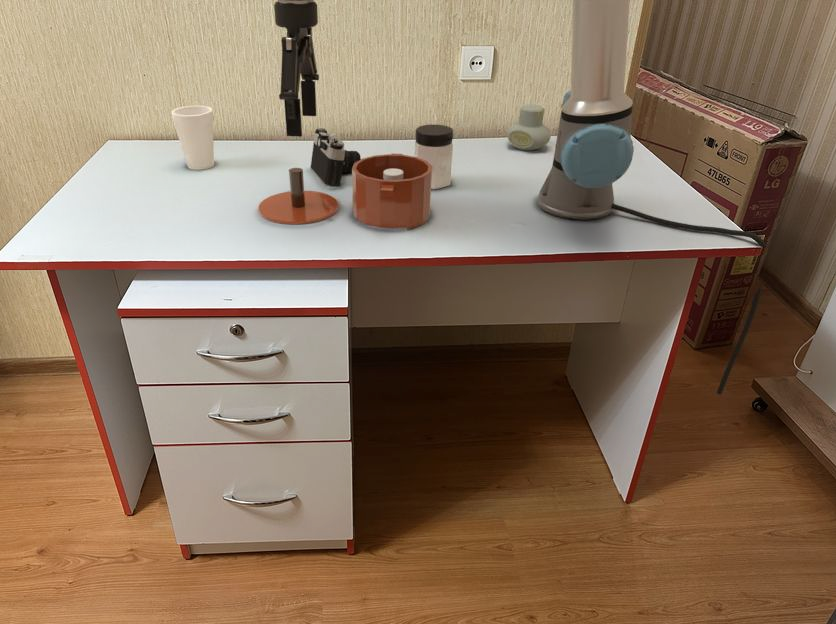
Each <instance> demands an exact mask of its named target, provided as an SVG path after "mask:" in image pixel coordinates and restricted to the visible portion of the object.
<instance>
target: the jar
mask: <svg viewBox="0 0 836 624" xmlns="http://www.w3.org/2000/svg"><path fill="white" fill-rule="evenodd" d="M453 139H454V129H453V128H452V127H450V126H448V125H443V124H423V125H419V126H417V128H416V129H415V139H414V157H418V158H420V159H423V160H425V161H427V162H428V163H429V164H430V165H431V166H432V180H431V190H438V189H443V188H445V187H449V186H451V180H452V164H453V151H454V150H453V149H454V144H453Z"/></svg>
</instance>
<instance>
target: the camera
mask: <svg viewBox="0 0 836 624" xmlns="http://www.w3.org/2000/svg"><path fill="white" fill-rule="evenodd" d="M361 159H362V157H361V153H360V152H358V151H357V150H346V149H345V142H344V141H342V140H341V138H340V137H339V136H338V135H337V134H336V133H335V132H332V133H328V130H327V129H326V127H324V126H318V127H317V128H316V129H315V131H314V136H313V145H312V153H311V161H310V170H311V171H312V172H313V174H314V175H315V176H316V177H317V178H318V180H319V181H320V182H321V183H322V184H323V186H325V187H327V188H335V187H340V186H341V182H342V175H343V174H345V173H351V174H352V167H353V165H354V163H356V162H357V161H359V160H361Z"/></svg>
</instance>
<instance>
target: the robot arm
mask: <svg viewBox="0 0 836 624" xmlns="http://www.w3.org/2000/svg"><path fill="white" fill-rule="evenodd" d="M630 1H631V0H572V13H571V14H572V16H571V60H570V63H571V64H570V65H571V67H570V69H571V70H570V90H568V91H567V92H565V94H564V95H563V98H562V103H561V105H560V109H561V110H560V116H559V122H558V129H557V133H556V134H557V135H556V141H555V146H554V152H553V158H552V165H551V168H550V169H549V170H550V171H549V173H548V174H547V177H546V178H545V180H544V183H542V186H541V188H540V190H539V193H538V195H537V196H538V197H537V205H538V207H539V208H540V209H541V210H542V211H544V212H546V213H548V214H550V215H551V216H555V217H559V218H563V219H569V220H579V221H588V220H589V221H591V220H597V219H602V218H605V217H607V216H609V215H610V214H611V213H612V212H613V210H615V211H618V212H621V213H625V214H629V215H632V216H635V217H637V218H640V219H643V220H646V221H648V222H649V221H650V222H652V223H656V224H659V225H660V224H661V225H664V226H668V227H673V228H678V229H682V230H687V231H688V230H689V231H696V232H704V233H705V232H706V233H716V234H722V235H728V236H734V237H735V236H736V237H743V238H749V239H752V240H753V241H754V242H756V244H757V245H758V246H759V247H761V248H768V246H767V244H766V242H765V241H764V239H763V238H762V237H760V236H759V235H758V234H756V233H754V232H750V231H745V230H737V229H728V228H723V227H716V226H705V225H695V224H688V223H685V222H684V223H683V222H678V221H673V220H669V219H664V218H661V217H657V216H654V215H650V214H646V213H644V212H640V211H638V210H635V209H632V208H629V207H625V206H622V205H619V204H615V195H614V187H613V183H616V182H617V181H618V180H619V179H621V178H622V177H623V176H624V175H625V174H626V173H627V171H628V169H629V168H630V167H631V165H632V161H633V158H634V152H635V151H634V149H635V147H634V145H633V144H634V141H633V140H632V137H631V136H632V135H631V133H632V118H633V105H634V102H633V99H632V98H630V96H629V95H628V94H626V92H625V80H626V63H627V49H628V35H629V34H628V32H629V19H630V18H629V17H630V16H629V15H630V3H631V2H630ZM273 9H274V10H273V11H274V21H275V25H276V26H277V27H278V28H285V30H286V36H282V37H281V39H280V41H281V72H280V93H279V94H278V99H279V100H283V101H284V114H285V115H284V116H285V128H286V129H285V130H286V136H287V137H297V138H299V137H300V138H301V137H302V136H303V127H302V117H317V98H316V97H317V95H316V94H317V93H316V81H319V80H320V74H318V69H317V61H316V56H315V48H314V41H313V28H314V27H316V26H317V25H318V23H319V16H318V12H319V11H318V4H317V2H316V1H315V0H277V1H275V2H274V4H273ZM301 79H302V80H301ZM299 92H300V93H299ZM299 94H301V95H300V96H301V98H299ZM762 288H763V285H761V286H760V287H759V288H758V289H757V290H756V292H755V293H754V294H753V297H752V300H751V304H750V308H749V311H748V314H747V317H746V320H745V322H744V326H743V327H742V330H741V332H740V335H739V338H738V340H737V342H736V344H735V346H734V349H733V351H732V354H731V356H730V358H729V360H728V362H727V365H726V368H725V370H724V372H723V375H722V377H721V380H720V382H719V386H718V388H717V389H716V390H717V391H716V394H717V395H719V396H721V395H723V392H724V389H725V386H726V384H727V381H728V379H729V377H730V374H731V372H732V369H733V367H734V365H735V362H736V360H737V358H738V356H739V353H740V352H741V349H742V346H743V344H744V342H745V339H746V337H747V335H748V332H749V330H750V328H751V326H752V323H753V320H754V317H755V313H756V311H757V308H758V304H759V300H760V297H761V293H762Z"/></svg>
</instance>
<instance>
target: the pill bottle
mask: <svg viewBox="0 0 836 624" xmlns="http://www.w3.org/2000/svg"><path fill="white" fill-rule="evenodd" d="M383 179H384V180H403V171H402V170H400V169H386V170H385V171H384V172H383Z"/></svg>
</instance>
